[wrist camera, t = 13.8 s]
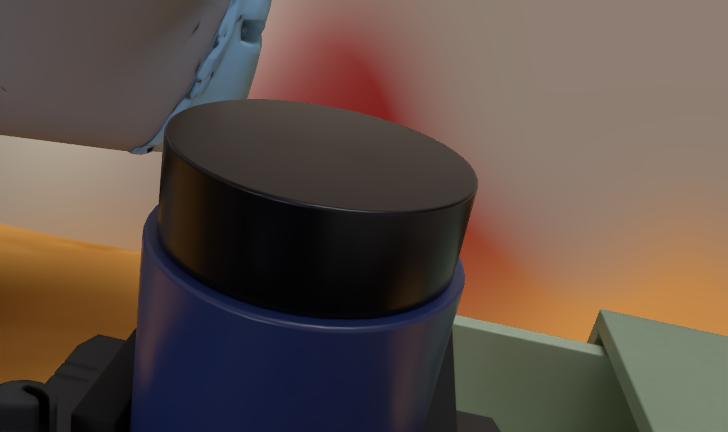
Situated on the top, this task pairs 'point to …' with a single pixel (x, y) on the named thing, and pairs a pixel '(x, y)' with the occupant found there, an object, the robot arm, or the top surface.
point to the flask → (297, 272)
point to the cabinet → (667, 372)
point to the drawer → (536, 380)
